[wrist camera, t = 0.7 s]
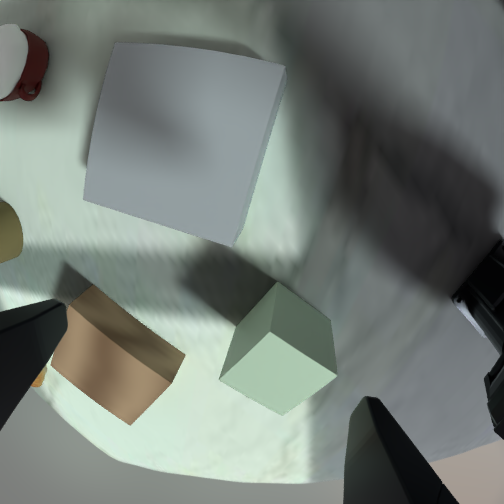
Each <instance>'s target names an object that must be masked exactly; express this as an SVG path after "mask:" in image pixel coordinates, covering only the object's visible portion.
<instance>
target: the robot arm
mask: <svg viewBox="0 0 504 504" xmlns="http://www.w3.org/2000/svg"><path fill="white" fill-rule="evenodd" d="M503 245H504V239H502V240H500V241H499V242H498V243H497V245H496V246H495V247H494V248H493V250H492V251H491V252H490V253H489V255H488V256H487V257H486V258H485V260H484V261H483V262H482V263H481V264H480V266H479V267H478V268H477V269H476V270H475V272H474V273H473V274H472V275H471V276H470V277H469V278H468V280H467V281H466V282H465V283H464V284H463V285H462V286H461V287H460V289H459V290H458V291H457V292H456V293H455V294H454V295H453V297H452V301H453V303H454V304H455V305H456V307H457V308H458V309H459V310H460V311H461V312H462V313H463V314H464V316H465V317H466V318H467V319H468V320H469V321H470V322H471V324H472V325H473V326H474V327H475V328H476V329H477V331H478V332H479V333H480V334H481V335H482V337H484V338H486V337H488V339H489V340H490V341H491V343H492V344H493V346H494V347H495V348H496V350H497V351H498V353H499V354H500V357H499V359H498V360H497V362H496V363H495V365H494V366H493V368H492V369H491V371H490V372H488V373H487V375H486V376H485V378H484V382H485V387H486V392H487V398H488V403H487V405H488V410H489V413H490V415H491V420H492V423H493V426H494V427H495V428H494V432H495V433H497V434H498V435H499V436H500V437H501V438H502V439H503V440H504V246H503ZM502 246H503V248H502ZM459 297H460V298H459ZM458 298H459V300H457V299H458ZM67 328H68V320H67V312H66V306H65V304H64V303H63V302H61V301H59V300H57V299H50V300H46V301H42V302H38V303H34V304H30V305H26V306H22V307H18V308H14V309H10V310H6V311H2V312H0V431H1V429H2V428H3V426H4V425H5V423H6V421H7V420H8V418H9V417H10V415H11V414H12V412H13V411H14V409H15V408H16V406H17V405H18V404H19V402H20V400H21V399H22V398H23V396H24V395H25V393H26V392H27V391H28V389H29V388H30V386H31V385H32V384H33V382H34V381H35V380H36V378H37V377H38V375H39V374H40V373H41V371H42V370H43V368H44V367H45V366H46V364H47V362H48V361H49V359H50V357H51V356H52V354H53V352H54V351H55V349H56V347H57V346H58V344H59V343H60V341H61V339H62V338H63V336H64V335H65V333H66V331H67ZM343 504H459V503H458V501H456V499H455V498H454V496H453V495H452V494H451V493H450V491H449V490H448V489H447V487H446V486H445V485H444V484H442V481H441V479H440V478H439V477H438V475H437V474H436V473H435V471H434V470H433V469H432V467H431V466H430V465H429V463H428V462H427V461H426V460H425V458H424V457H423V456H422V454H421V453H420V452H419V450H418V449H417V448H416V446H415V445H414V444H413V442H412V441H411V440H410V438H409V437H408V436H407V435H406V433H405V432H404V431H403V429H402V428H401V427H400V425H399V424H398V423H397V421H396V420H395V419H394V418H393V416H392V415H391V414H390V412H389V411H388V410H387V408H386V407H385V406H384V405H383V403H382V402H381V401H380V399H378V398H376V397H370V396H365V397H363V398H362V400H361V401H360V403H359V404H358V406H357V407H356V408H355V410H354V411H353V413H352V414H351V417H350V421H349V431H348V440H347V448H346V456H345V465H344V500H343Z"/></svg>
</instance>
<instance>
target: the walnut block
mask: <svg viewBox="0 0 504 504" xmlns="http://www.w3.org/2000/svg"><path fill="white" fill-rule="evenodd" d="M67 320H68V328H67V331H66V333H65V335H64V336H63V338H62V339H61V341H60V343H59V344H58V346H57V347H56V349H55V351H54V354H53V358H52V361H51V366H52V367H53V368H54V369H55V370H57V371H58V372H59V373H60V374H61V375H62V376H64V377H65V378H66V379H67V380H68V381H70V382H71V383H72V384H73V385H74V386H76V387H77V388H78V389H80V390H81V391H82V392H83V393H85V394H86V395H87V396H89V397H90V398H91V399H93V400H94V401H95V402H97V403H98V404H99V405H101V406H102V407H104V408H105V409H106V410H108V411H109V412H111V413H112V414H114V415H115V416H116V417H118V418H119V419H121V420H122V421H124V422H125V423H127V424H128V425H131V424H132V423H133V422H134V421H135V420H136V419H137V418H138V417H139V416H140V415H141V414H142V413H143V412H144V411H145V410H146V409H147V408H148V407H149V406H150V405H151V404H152V403H153V402H154V401H155V400H156V399H157V398H158V397H159V396H160V395H161V394H162V393H163V392H164V391H165V390H166V389H167V388H168V387H169V386H170V385H171V384H172V382H173V380H174V378H175V376H176V374H177V372H178V370H179V368H180V366H181V364H182V361H183V359H184V357H185V354H184V353H182V352H181V351H179V350H178V349H177V348H175V347H174V346H172V345H171V344H169V343H168V342H167V341H165V340H164V339H162V338H161V337H160V336H158V335H157V334H155V333H154V332H153V331H151V330H150V329H149V328H147V327H146V326H145V325H143V324H142V323H141V322H139V321H138V320H137V319H135V318H134V317H133V316H132V315H130V314H129V313H128V312H126V311H125V310H124V309H123V308H121V307H120V306H119V305H118V304H116V303H115V302H114V301H113V300H111V299H110V298H109V297H108V296H107V295H105V294H104V293H103V292H102V291H101V290H99V289H98V288H97V287H96V286H95V285H94V284H93V285H92V286H91V287H89V288H88V289H87V290H86V291H85V292H83V293H82V294H81V295H80V296H79V297H77V298H76V299H75V300H74V301H73V302H72V303H70V304H69V306H68V309H67Z"/></svg>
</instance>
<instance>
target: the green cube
mask: <svg viewBox="0 0 504 504" xmlns="http://www.w3.org/2000/svg"><path fill="white" fill-rule="evenodd" d="M337 376H338V374H337V365H336V357H335V349H334V341H333V334H332V327H331V320H330V319H328V318H327V317H325V316H324V315H323V314H321V313H320V312H319V311H317V310H316V309H315V308H313V307H312V306H310V305H309V304H308V303H306V302H305V301H304V300H302V299H301V298H300V297H298V296H297V295H295V294H294V293H293V292H291V291H290V290H289V289H287V288H286V287H285V286H283V285H282V284H280V283H279V282H278V281H277V282H276V283H275V285H274V286H273V287H272V288H271V289H270V290H269V291H268V292H267V293H266V295H265V296H264V297H263V298H262V299H261V300H260V301H259V302H258V303H257V304H256V305H255V307H254V308H253V309H252V310H251V311H250V312H249V313H248V314H247V315H246V316H245V317H244V318H243V320H242V321H241V322H240V323H239V324H238V325H237V326H236V329H235V332H234V335H233V338H232V341H231V344H230V347H229V350H228V353H227V356H226V359H225V362H224V365H223V368H222V371H221V374H220V377H219V380H220V381H221V382H223V383H225V384H226V385H228V386H230V387H231V388H233V389H235V390H236V391H238V392H240V393H242V394H243V395H245V396H247V397H248V398H250V399H252V400H254V401H256V402H257V403H259V404H261V405H263V406H265V407H266V408H268V409H270V410H272V411H274V412H276V413H278V414H280V415H282V416H283V415H284V414H286V413H287V412H289V411H290V410H292V409H293V408H295V407H296V406H297V405H299V404H300V403H302V402H303V401H305V400H306V399H307V398H309V397H310V396H311V395H313V394H314V393H316V392H317V391H318V390H320V389H321V388H322V387H324V386H325V385H326V384H328V383H329V382H330V381H331V380H333V379H334V378H335V377H337Z"/></svg>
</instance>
